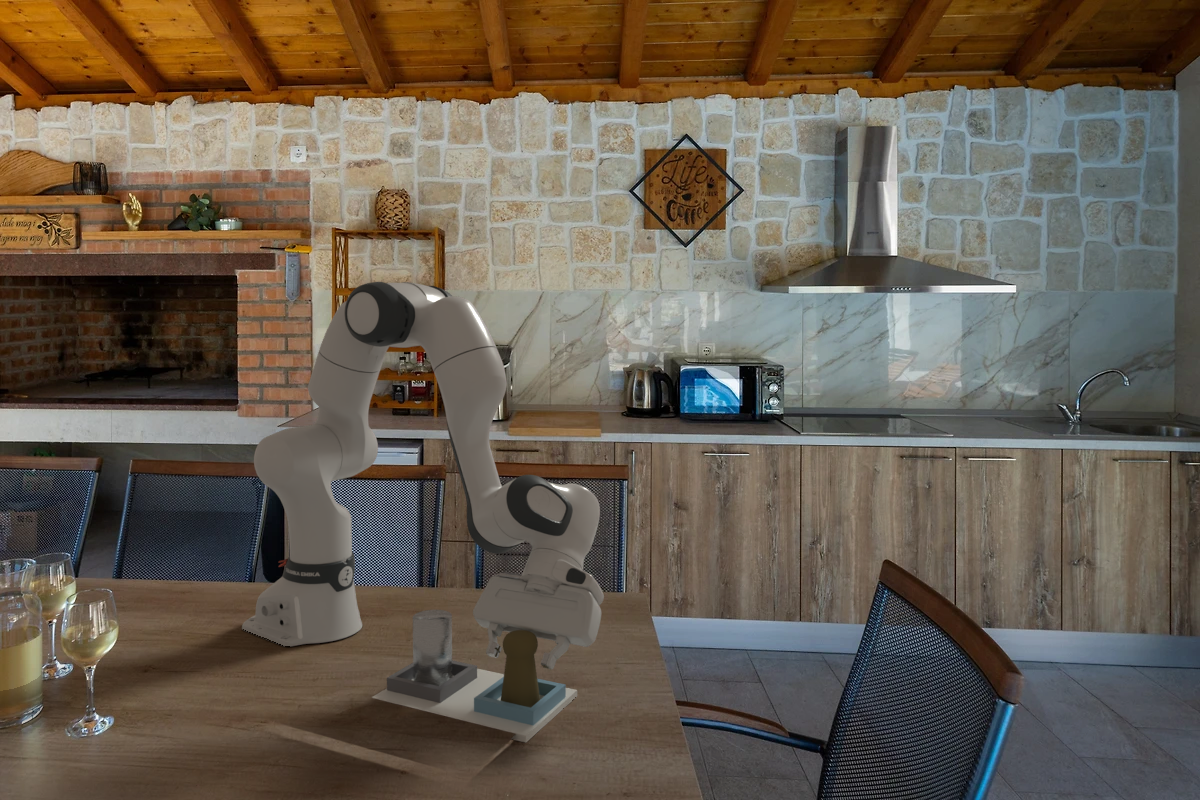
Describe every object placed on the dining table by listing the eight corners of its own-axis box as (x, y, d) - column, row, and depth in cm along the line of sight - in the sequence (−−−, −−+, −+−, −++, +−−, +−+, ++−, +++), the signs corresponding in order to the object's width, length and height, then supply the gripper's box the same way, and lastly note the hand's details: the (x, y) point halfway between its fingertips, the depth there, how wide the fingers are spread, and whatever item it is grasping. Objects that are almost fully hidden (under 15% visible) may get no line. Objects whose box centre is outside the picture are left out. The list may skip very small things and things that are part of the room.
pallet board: (371, 703, 126) (371, 684, 126) (434, 665, 140) (434, 647, 140) (525, 742, 115) (525, 721, 114) (577, 696, 129) (577, 677, 129)
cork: (533, 715, 120) (533, 642, 119) (494, 710, 122) (494, 638, 121) (545, 697, 126) (545, 627, 125) (507, 693, 128) (507, 624, 127)
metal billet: (405, 687, 129) (404, 619, 128) (428, 673, 135) (428, 607, 134) (437, 695, 127) (436, 625, 126) (459, 680, 132) (459, 613, 131)
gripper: (486, 560, 133) (451, 640, 125) (602, 577, 124) (572, 664, 116) (501, 579, 137) (468, 658, 129) (613, 598, 129) (585, 682, 121)
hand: (518, 661), depth 123 cm, fingers open, 8 cm apart
